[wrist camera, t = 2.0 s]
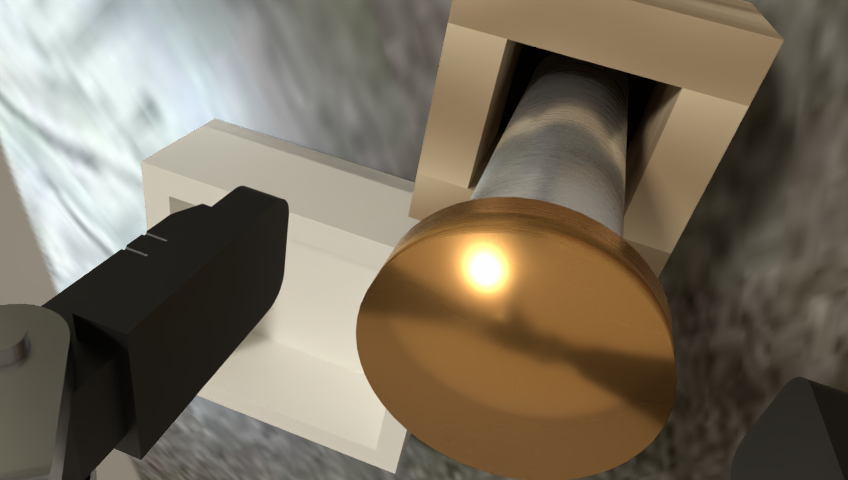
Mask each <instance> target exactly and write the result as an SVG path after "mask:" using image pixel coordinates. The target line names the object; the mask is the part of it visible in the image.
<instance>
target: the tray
mask: <svg viewBox="0 0 848 480" xmlns="http://www.w3.org/2000/svg"><path fill="white" fill-rule="evenodd" d="M141 167H142V177H143V187H144V198H145V208H146V219H147V229H148V230H149V229H150V228H152V227H153V226H155V225H156V224H157V223H159V222H160V221H162V220H163V219H165V218H166V217H167V216H169V215H170V214H173V213H176V212H179V211H182V210H185V209H188V208H191V207H194V206H197V205H200V204H205V205H208V206H211V207H212V206H213V205H214V204H216V203H217V202H218V201H219V200H221V199H222V198H223V197H225V196H226V195H227V194H229V193H230V192H231V191H233V190H234V189H235V188H237V187H239V186H246V187H249V188H252V189H255V190H258V191H261V192H264V193H267V194H270V195H273V196H276V197H279V198H282V199H285V200H286V201H287V203H288V206H289V220H288V232H287V245H286V257H285V270H284V278H283V282H282V286H281V289H280V292H279V294H278V296H277V298H276V300H275V302H274V304H273V305H272V307H271V308H270V310H269V311H268V312H267V313H266V314H265V316H264V317H263V318H262V319H261V320H260V321H259V323H258V324H257V325H256V326H255V327H254V328H253V330H252V331H251V332H250V333H249V334H248V335H247V337H246V338H245V339H244V340H243V341H242V343H241V344H240V345H239V346H238V347H237V348H236V350H235V351H234V352H233V353H232V354H231V355H230V357H229V358H228V359H227V360H226V361H225V362H224V364H223V365H222V366H221V367H220V368H219V369H218V371H217V372H216V373H215V374H214V375H213V376H212V378H211V379H210V380H209V381H208V382H207V383H206V385H205V386H204V387H203V388H202V389H201V390H200V392H199V393H198V394H197V395H198V396H200V397H203V398H205V399H208V400H210V401H213V402H215V403H218V404H220V405H223V406H226V407H228V408H231V409H233V410H236V411H238V412H241V413H243V414H246V415H248V416H251V417H253V418H256V419H258V420H261V421H263V422H266V423H268V424H271V425H273V426H276V427H278V428H281V429H283V430H286V431H288V432H291V433H293V434H296V435H299V436H301V437H304V438H306V439H309V440H311V441H314V442H316V443H319V444H321V445H324V446H326V447H329V448H331V449H334V450H336V451H339V452H341V453H344V454H346V455H349V456H351V457H354V458H356V459H359V460H361V461H364V462H366V463H369V464H372V465H374V466H377V467H379V468H382V469H384V470H387V471H389V472H392V473H394V474H395V473H396V470H397V468H398V465H399V463H400V460H401V458H402V455H403V453H404V450H405V448H406V445H407V443H408V440H409V438H410V435H411V433H410V432H409V431H408V430H407V429H405V428H404V427H403V426H402V425H401V424H400V423H399V422H398V421H397V420H396V419H395V418H394V417H393V416H392V415H391V414H390V413H389V411H388V410H387V409H386V408H385V407H384V406H383V404H382V403H381V401H380V400H379V399H378V397H377V396H376V394H375V393H374V391H373V390H372V388H371V386H370V384H369V382H368V380H367V378H366V376H365V374H364V371H363V368H362V366H361V363H360V359H359V355H358V351H357V343H356V324H357V317H358V313H359V309H360V305H361V303H362V300H363V298H364V296H365V294H366V292H367V290H368V288H369V287H370V285H371V283H372V282H373V280H374V279H375V277H376V276H377V274H378V273H379V271H380V269H381V268H382V266H383V265H384V263H385V262H386V260H387V259H388V257H389V255H390V254H391V252H392V251H393V249H394V248H395V247H396V245H397V244H398V242H399V241H400V240H401V238H402V237H403V236H404V235H405V234H406V233H407V232H408V231H409V230H410V229H411V228H412V227H414V226H415V225H416V224H418V223H419V222H420V220H417V219H414V218H411V217H408V215H409V210H410V205H411V200H412V196H413V191H414V186H415V183H414V182H411V181H408V180H405V179H402V178H399V177H396V176H393V175H390V174H386V173H383V172H380V171H377V170H374V169H371V168H368V167H365V166H362V165H358V164H355V163H352V162H349V161H346V160H343V159H340V158H337V157H334V156H330V155H327V154H324V153H321V152H318V151H315V150H312V149H309V148H306V147H302V146H299V145H296V144H293V143H290V142H287V141H284V140H281V139H278V138H274V137H271V136H268V135H265V134H262V133H259V132H256V131H253V130H250V129H246V128H243V127H240V126H237V125H234V124H231V123H228V122H225V121H222V120H218V119H213V120H211V121H210V122H208V123H206V124H205V125H203V126H201V127H199V128H198V129H196V130H194V131H193V132H191V133H189V134H187V135H186V136H184V137H182V138H181V139H179V140H177V141H176V142H174V143H172V144H170V145H169V146H167V147H165V148H164V149H162V150H160V151H158V152H157V153H155V154H153V155H152V156H150V157H148V158H146V159H145V160H143V161H141Z"/></svg>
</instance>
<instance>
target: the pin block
mask: <svg viewBox="0 0 848 480" xmlns="http://www.w3.org/2000/svg"><path fill="white" fill-rule="evenodd" d="M783 42H784V40H783V39H782V37H781V36H780V35H779V34H778V33H777V32H776V31H775V29H774V28H773V27H772V26H771V25H770V24H769V23H768V21H767V20H766V19H765V18H764V17H763V16H762V15H761V13H760V12H759V11H758V10H757V9H756V8H755V7H754V5H753V4H752V3H751V2H747V1H743V0H453V1H452V5H451V10H450V15H449V20H448V25H447V30H446V35H445V40H444V44H443V49H442V54H441V59H440V64H439V69H438V74H437V79H436V83H435V88H434V93H433V98H432V103H431V108H430V113H429V118H428V122H427V127H426V132H425V137H424V142H423V147H422V152H421V157H420V161H419V166H418V171H417V176H416V181H415V186H414V191H413V196H412V200H411V205H410V210H409V215H408V217H411V218H414V219H417V220H420V221H422V220H423V219H424V218H426V217H428V216H430V215H432V214H433V213H435V212H437V211H439V210H441V209H444V208H446V207H449V206H452V205H454V204H457V203H461V202H465V201H469V200H470V198H471V196H472V194H473V192H474V190H475V188H476V186H477V184H478V182H479V180H480V179H481V177H482V175H483V173H484V171H485V169H486V167H487V165H488V163H489V161H490V159H491V157H492V155H493V153H494V151H495V149H496V147H497V145H498V143H499V141H500V139H501V137H502V135H503V133H501V132H498V130H499V126H500V123H501V119H502V116H503V112H504V109H505V105H506V102H507V98H508V94H509V91H510V87H511V84H512V80H513V77H514V73H515V70H516V66H517V62H518V59H519V55H520V52H521V48H522V45H523V44H527V45H530V46H534V47H537V48H541V49H545V50H548V51H552V52H555V53H559V54H562V55H566V56H570V57H573V58H577V59H580V60H584V61H588V62H591V63H595V64H598V65H602V66H606V67H609V68H613V69H616V70H620V71H624V72H627V73H631V74H634V75H638V76H641V77H645V78H649V79H652V80H656V83H655V86H654V88H653V90H652V93H651V95H650V97H649V100H648V102H647V104H646V107H645V109H644V112H643V114H642V116H641V119H640V121H639V123H638V126H637V128H636V130H635V133H634V135H633V137H632V140H631V142H630V144H629V147H628V149H627V152H626V174H625V201H624V228H623V239H624V240H625V241H626V242H627V243H628V244H630V245H631V246H632V247H633V248H634V249H635V250H636V251H637V252H638V253H639V254H640V255H641V257H642V258H643V259H644V260H645V261H646V262H647V264H648V265H649V266H650V268H651V269H652V271H653V272H654V274H655V275H656V277H657V279H658V277H659V275H660V274H661V272H662V270H663V268H664V266H665V264H666V262H667V260H668V258H669V257H670V255H671V253H672V251H673V249H674V247H675V245H676V243H677V242H678V240H679V238H680V236H681V234H682V232H683V230H684V228H685V226H686V225H687V223H688V221H689V219H690V217H691V215H692V213H693V211H694V209H695V208H696V206H697V204H698V202H699V200H700V198H701V196H702V194H703V192H704V191H705V189H706V187H707V185H708V183H709V181H710V179H711V177H712V175H713V174H714V172H715V170H716V168H717V166H718V164H719V162H720V160H721V159H722V157H723V155H724V153H725V151H726V149H727V147H728V145H729V143H730V142H731V140H732V138H733V136H734V134H735V132H736V130H737V128H738V126H739V125H740V123H741V121H742V119H743V117H744V115H745V113H746V111H747V109H748V108H749V106H750V104H751V102H752V100H753V98H754V96H755V94H756V92H757V91H758V89H759V87H760V85H761V83H762V81H763V79H764V77H765V76H766V74H767V72H768V70H769V68H770V66H771V64H772V62H773V60H774V59H775V57H776V55H777V53H778V51H779V49H780V47H781V45H782V43H783Z"/></svg>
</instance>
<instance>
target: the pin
mask: <svg viewBox="0 0 848 480" xmlns="http://www.w3.org/2000/svg"><path fill="white" fill-rule="evenodd" d="M628 93H629V82H628V76H627V72H624V71H620V70H616V69H613V68H609V67H606V66H602V65H598V64H595V63H591V62H588V61H584V60H580V59H577V58H573V57H570V56H566V55H562V54H559V53H555V52H552V51H551V52H550V53H549V54H548V55H546V56H545V58H544V59H543V60H542V61H541V62H540V64H539V65H538V67H537V69H536V70H535V72H534V74H533V76H532V78H531V80H530V82H529V84H528V86H527V88H526V90H525V92H524V94H523V96H522V98H521V100H520V102H519V104H518V106H517V108H516V110H515V112H514V114H513V116H512V118H511V120H510V122H509V123H508V125H507V127H506V129H505V131H504V133H503V135H502V137H501V139H500V141H499V143H498V145H497V147H496V149H495V151H494V153H493V155H492V157H491V159H490V161H489V163H488V165H487V167H486V169H485V171H484V173H483V175H482V177H481V179H480V180H479V182H478V184H477V186H476V188H475V190H474V192H473V194H472V196H471V198H470V200H469V201H465V202H461V203H457V204H454V205H452V206H449V207H446V208H444V209H441V210H439V211H437V212H435V213H433V214H432V215H430V216H428V217H426V218H424V219H423V220H422V221H420V222H419V223H418V224H416V225H415V226H414V227H412V228H411V229H410V230H409V231H408V232H407V233H406V234H405V235H404V236H403V237H402V238H401V240H400V241H399V242H398V244H397V245H396V247H395V248H394V249H393V251H392V252H391V254H390V255H389V257H388V259H387V260H386V262H385V263H384V265H383V266H382V268H381V269H380V271H379V273H378V274H377V276H376V277H375V279H374V280H373V282H372V283H371V285H370V287H369V288H368V290H367V292H366V294H365V296H364V298H363V300H362V303H361V305H360V309H359V313H358V317H357V324H356V343H357V351H358V355H359V359H360V363H361V366H362V368H363V371H364V374H365V376H366V378H367V380H368V382H369V384H370V386H371V388H372V390H373V391H374V393H375V394H376V396H377V397H378V399H379V400H380V401H381V403H382V404H383V406H384V407H385V408H386V409H387V410H388V411H389V413H390V414H391V415H392V416H393V417H394V418H395V419H396V420H397V421H398V422H399V423H400V424H401V425H402V426H403V427H404V428H405V429H407V430H408V431H409V432H410V433H412V434H413V435H414V436H416V437H417V438H418V439H419V440H421V441H422V442H424V443H425V444H427V445H428V446H430V447H431V448H433V449H435V450H436V451H438V452H440V453H442V454H444V455H446V456H447V457H449V458H451V459H454V460H456V461H458V462H460V463H463V464H465V465H467V466H470V467H473V468H476V469H479V470H482V471H485V472H489V473H492V474H496V475H500V476H505V477H511V478H517V479H524V480H568V479H577V478H582V477H587V476H591V475H595V474H598V473H601V472H604V471H607V470H610V469H612V468H615V467H617V466H619V465H621V464H623V463H625V462H627V461H628V460H630V459H631V458H633V457H634V456H636V455H637V454H639V453H640V452H641V451H643V450H644V449H645V448H646V447H647V446H648V445H649V444H650V443H651V442H652V441H653V440H654V439H655V438H656V436H657V435H658V434H659V433H660V431H661V430H662V429H663V427H664V425H665V423H666V421H667V419H668V417H669V416H670V413H671V410H672V406H673V403H674V400H675V392H676V383H677V381H676V368H675V355H674V343H673V330H672V318H671V312H670V308H669V304H668V301H667V297H666V295H665V293H664V291H663V288H662V286H661V284H660V282H659V280H658V279H657V277H656V275H655V274H654V272H653V271H652V269H651V268H650V266H649V265H648V264H647V262H646V261H645V260H644V259H643V258H642V257H641V255H640V254H639V253H638V252H637V251H636V250H635V249H634V248H633V247H632V246H631V245H630V244H628V243H627V242H626V241H625V240H624V239H623V228H624V201H625V174H626V147H627V120H628Z"/></svg>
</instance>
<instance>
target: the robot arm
mask: <svg viewBox="0 0 848 480" xmlns="http://www.w3.org/2000/svg"><path fill="white" fill-rule="evenodd" d="M288 220H289V206H288V203H287V201H286V200H285V199H282V198H279V197H276V196H273V195H270V194H267V193H264V192H261V191H258V190H255V189H252V188H249V187H246V186H239V187H237V188H235V189H234V190H233V191H231V192H230V193H229V194H227V195H226V196H225V197H223V198H222V199H221V200H219V201H218V202H217V203H216V204H214V205H213V206H212V207H211V206H208V205H205V204H200V205H197V206H194V207H191V208H188V209H185V210H182V211H179V212H176V213H173V214H170V215H169V216H167V217H166V218H165V219H163V220H162V221H160V222H159V223H157V224H156V225H155V226H153V227H152V228H150V229H149V230H148V231H147V233H146V235H145V236H144V235H141V236H139V237H138V238H136V239H135V240H134V241H132V242H131V243H129V244H128V245H127V247H126V249H125V250H122V249H121V250H120V251H118V252H117V253H115V254H114V255H113V256H111V257H110V258H108V259H107V260H106V261H104V262H103V263H101V264H100V265H99V266H97V267H96V268H94V269H93V270H92V271H90V272H89V273H87V274H86V275H85V276H83V277H82V278H80V279H79V280H77V281H76V282H75V283H73V284H72V285H70V286H69V287H68V288H66V289H65V290H63V291H62V292H61V293H59V294H58V295H56V296H55V297H54V298H52V299H51V300H49V301H48V302H47V303H45V304H44V305H42V306H35V305H28V304H8V305H0V480H96V479H97V478H96V467H97V466H98V465H99V464H100V463H101V462H102V460H104V458H105V457H106V456H107V455H108V454H109V453H110V452H111V451H112V450H113V449H114V448H115V449H117V450H119V451H122V452H124V453H126V454H129V455H131V456H133V457H136V458H138V459H140V460H141V459H142V458H143V457H144V456H145V455H146V454H147V452H148V451H149V450H150V449H151V448H152V447H153V445H154V444H155V443H156V442H157V441H158V440H159V438H160V437H161V436H162V435H163V434H164V433H165V431H166V430H167V429H168V428H169V427H170V426H171V424H172V423H173V422H174V421H175V420H176V419H177V417H178V416H179V415H180V414H181V413H182V412H183V410H184V409H185V408H186V407H187V406H188V405H189V403H190V402H191V401H192V400H193V399H194V397H195V396H196V395H197V394H198V393H199V392H200V390H201V389H202V388H203V387H204V386H205V385H206V383H207V382H208V381H209V380H210V379H211V378H212V376H213V375H214V374H215V373H216V372H217V371H218V369H219V368H220V367H221V366H222V365H223V364H224V362H225V361H226V360H227V359H228V358H229V357H230V355H231V354H232V353H233V352H234V351H235V350H236V348H237V347H238V346H239V345H240V344H241V343H242V341H243V340H244V339H245V338H246V337H247V335H248V334H249V333H250V332H251V331H252V330H253V328H254V327H255V326H256V325H257V324H258V323H259V321H260V320H261V319H262V318H263V317H264V316H265V314H266V313H267V312H268V311H269V310H270V308H271V307H272V305H273V304H274V302H275V300H276V298H277V296H278V294H279V292H280V289H281V286H282V282H283V278H284V270H285V257H286V245H287V232H288ZM731 480H848V393H846V392H843V391H840V390H837V389H834V388H831V387H829V386H826V385H823V384H820V383H817V382H814V381H811V380H808V379H805V378H802V377H797V378H794V379H792V380H790V381H789V382H788V383H787V384H786V385H785V386H784V387H783V389H782V390H781V391H780V392H779V394H778V395H777V396H776V398H775V399H774V400H773V401H772V403H771V404H770V405H769V407H768V408H767V409H766V410H765V412H764V413H763V414H762V415H761V417H760V418H759V419H758V421H757V422H756V423H755V424H754V426H753V427H752V428H751V430H750V431H749V432H748V433H747V435H746V436H745V437H744V438H743V440H742V441H741V443H740V444H739V446H738V448H737V451H736V453H735V456H734V460H733V464H732V471H731Z"/></svg>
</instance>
